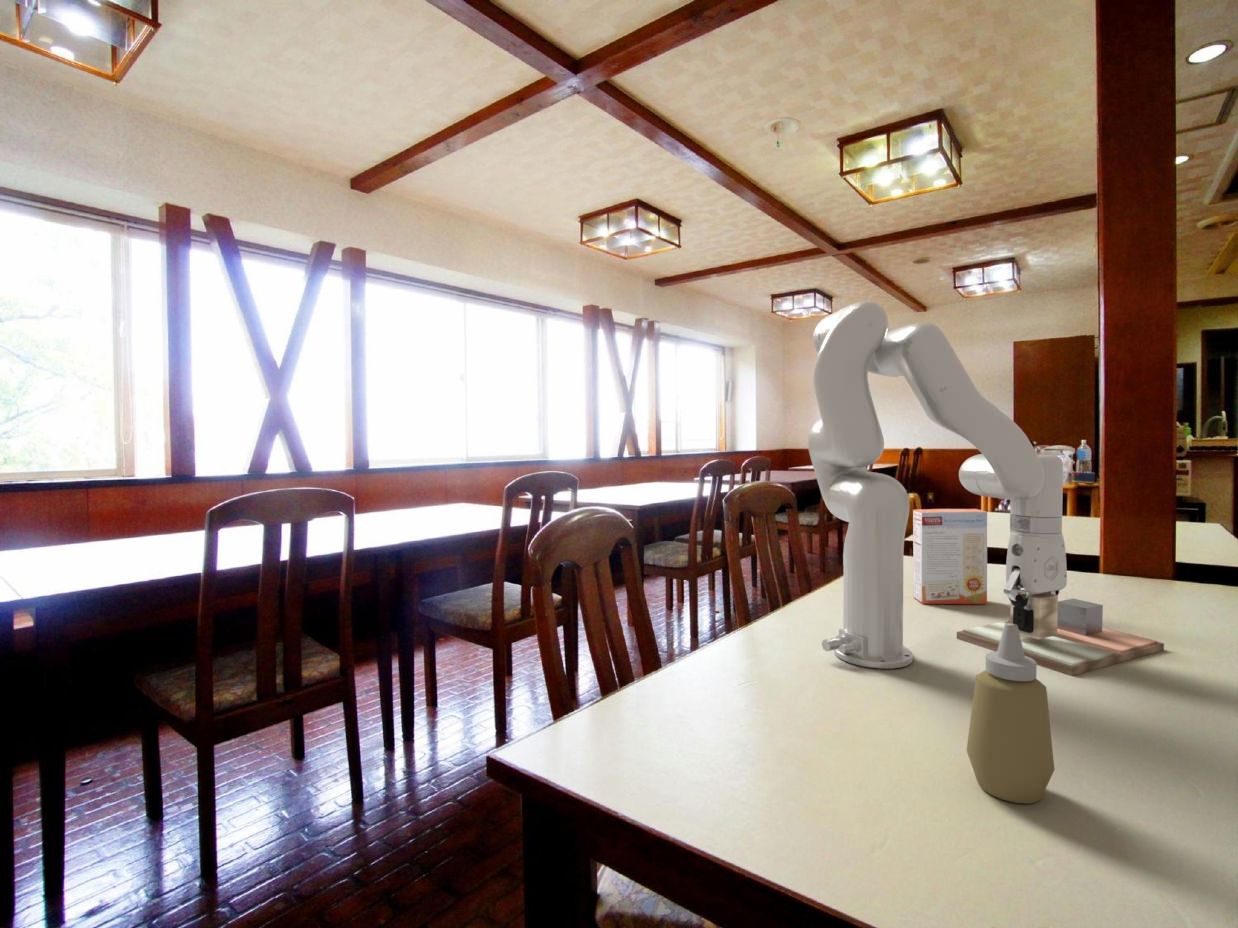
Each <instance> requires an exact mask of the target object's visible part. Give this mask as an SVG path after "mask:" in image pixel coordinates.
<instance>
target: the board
mask: <svg viewBox="0 0 1238 928" xmlns="http://www.w3.org/2000/svg"><path fill="white" fill-rule="evenodd" d="M1005 623H1010V619H1009V620H1007V621H1000V622H995V623H994V622H993V623H991V624H984V625H980V626H976V627H970V628H965V629H963V630H960V631H956V639H957V640H960V641H964V642H967V643H969V642H970V644H973V645H976V646H979V647H982V648H985V649H988V650H992V651H993V652H996V651H997V650H998V647H999V643H1000V640H1001V636H1002V632H1003V629H1004V625H1005ZM1020 638H1021V643H1022V647H1023V651H1024V655H1025V656H1027V657H1030V658H1032V659H1033V660H1035V661H1036V664H1037V666H1038V665H1039V666H1040V665H1041V666H1040V667H1044V668H1047V669H1049V670H1053V671H1057V672H1059V673H1063V674H1066V675H1069V676H1072V677H1073V676H1075V675H1080V674H1083V673H1086V672H1090V671H1093V670H1098V669H1100V668H1105V667H1108V666H1112V665H1116V664H1118V663H1122V662H1126V661H1129V660H1132V659H1137V658H1139V657H1144V656H1147V655H1151V654H1155V653H1157V652H1158V653H1159V652H1162V651H1164V650H1165V643H1164V642H1159V641H1158V640H1155V639H1150V638H1146V637H1144V636H1143V637H1142V636H1138V635H1135V634H1131V633H1126V632H1123V631H1120V630H1119V631H1118V630H1115V629H1111V628H1110V629H1109V628H1107V627H1103V626H1102V632H1100V633H1096V634H1092V635H1088V636H1083V635H1080V634H1076V633H1072V632H1068V631H1065V630H1061V629H1057V635H1056V636H1051V637H1047V638H1042V639H1036V638H1032V637H1029V636H1025V635H1022V634H1020Z"/></svg>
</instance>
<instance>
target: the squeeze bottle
mask: <svg viewBox="0 0 1238 928" xmlns="http://www.w3.org/2000/svg"><path fill="white" fill-rule="evenodd" d="M1037 666H1038V665H1037V664H1036V661H1035V660H1033V659H1032V658H1030V657H1027V656H1025V655H1024V651H1023V647H1022V643H1021V638H1020V634H1019V630H1018V625H1016V624H1012V623H1005V625H1004V629H1003V632H1002V636H1001V640H1000V643H999V647H998V650H997V651H989V652H988V653H986V654H985V670H983V671H981V672H979V673H978V674H976V675H975V681H974V683H975V684H974V691H973V697H972V705H971V706H972V707H971V715H970V722H969V728H968V736H967V743H966V744H967V745H966V753H967V756H968V758H969V763H970V764H971V765H970V766H971V767H972V770H973V772H974V777H975V779H976V782H977V784H978V785H979V786H980V788H981V789H982V790H984V792H987V793H988V794H989V795H991V796H993V797H996V798H998V799H1000V800H1003V801H1008V802H1011V803H1015V804H1016V803H1017V804H1027V805H1028V804H1032V803H1037V802H1039V800H1041V799H1042V797H1043V795H1044V794H1045V791H1046V790H1047V789H1046V788H1047V787H1048V784H1049V783H1050V780H1051V778H1052V777H1053V775H1054V772H1055V762H1054V752H1053V743H1052V742H1053V740H1052V732H1051V722H1050V721H1051V720H1050V719H1051V718H1050V712H1049V703H1048V701H1049V700H1048V693H1047V692H1048V691H1047V686H1046V685H1045V684H1044V683H1043V682H1041V680H1039V679H1037V668H1038V667H1037Z"/></svg>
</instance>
